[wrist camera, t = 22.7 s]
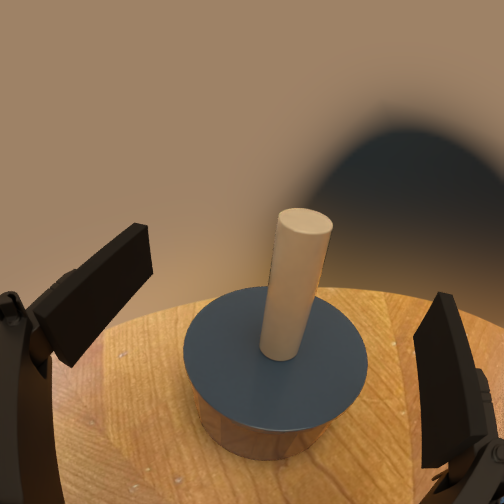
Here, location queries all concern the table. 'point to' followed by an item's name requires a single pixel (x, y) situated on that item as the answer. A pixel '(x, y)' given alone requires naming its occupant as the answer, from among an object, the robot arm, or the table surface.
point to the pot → (253, 437)
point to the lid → (279, 342)
